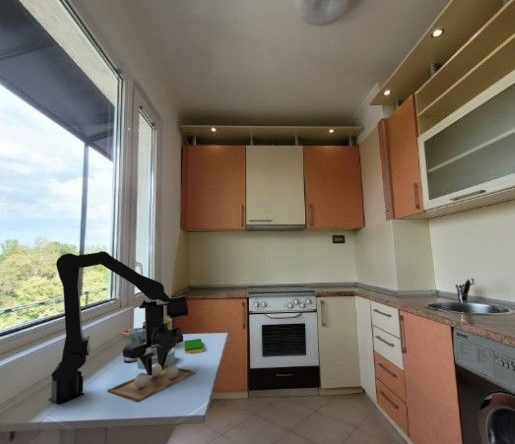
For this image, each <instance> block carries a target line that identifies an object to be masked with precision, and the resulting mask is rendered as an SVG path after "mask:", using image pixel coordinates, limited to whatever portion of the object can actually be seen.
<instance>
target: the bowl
mask: <svg viewBox="0 0 515 444" xmlns="http://www.w3.org/2000/svg"><path fill="white" fill-rule="evenodd" d="M151 353H154V355H153V357H152V365H153V364H156V363H158V357H157V349H156V348H153V349H151ZM175 360H176V348H175V347H173V348H172V349H171V350H170V351H169V352H168V355H167V358H166V361H165V364H164V366H165V365H167V366H171V365H174V364H175ZM137 369H140V370H145V371H146V369H145V367H144V365H143V363H142V362H141V360H140V359H139V357H138V361H137Z"/></svg>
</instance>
